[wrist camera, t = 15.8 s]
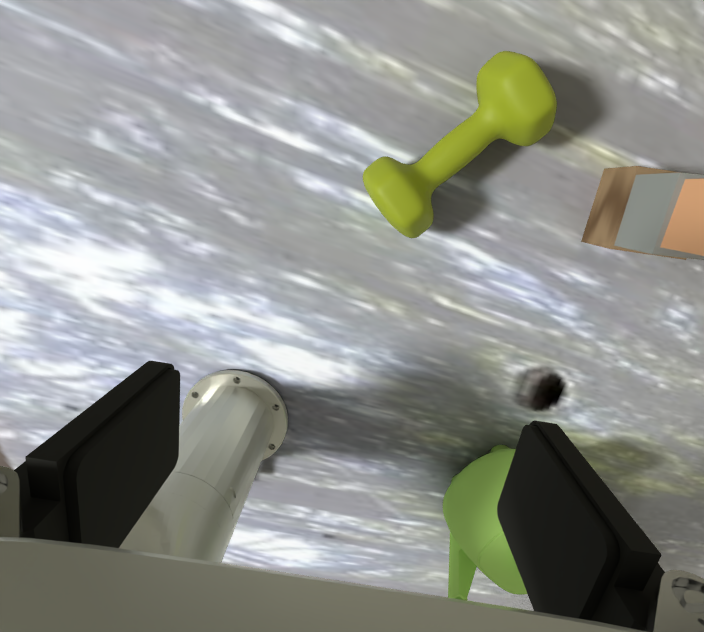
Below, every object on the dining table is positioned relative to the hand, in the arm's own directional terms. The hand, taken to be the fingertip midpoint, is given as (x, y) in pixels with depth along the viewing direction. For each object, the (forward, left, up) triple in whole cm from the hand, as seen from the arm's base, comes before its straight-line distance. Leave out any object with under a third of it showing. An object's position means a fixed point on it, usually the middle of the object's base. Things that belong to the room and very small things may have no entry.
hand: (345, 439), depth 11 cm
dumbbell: (+11, -6, -33) cm, 35 cm away
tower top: (+8, -25, -28) cm, 38 cm away
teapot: (-26, -21, -33) cm, 47 cm away
